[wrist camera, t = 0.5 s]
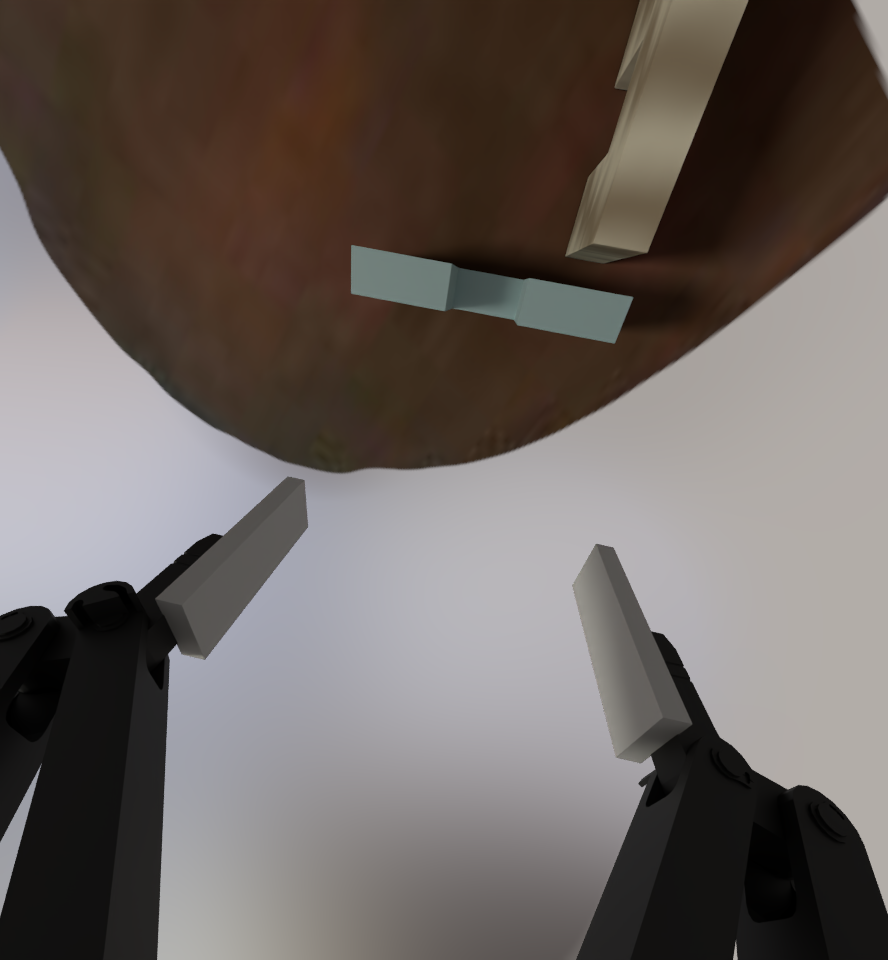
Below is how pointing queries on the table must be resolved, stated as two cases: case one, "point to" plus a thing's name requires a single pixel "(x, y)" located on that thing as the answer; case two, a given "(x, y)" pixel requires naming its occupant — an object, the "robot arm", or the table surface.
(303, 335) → the table surface
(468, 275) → the base plate
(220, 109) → the table surface
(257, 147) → the table surface
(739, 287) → the table surface
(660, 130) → the beige bar
